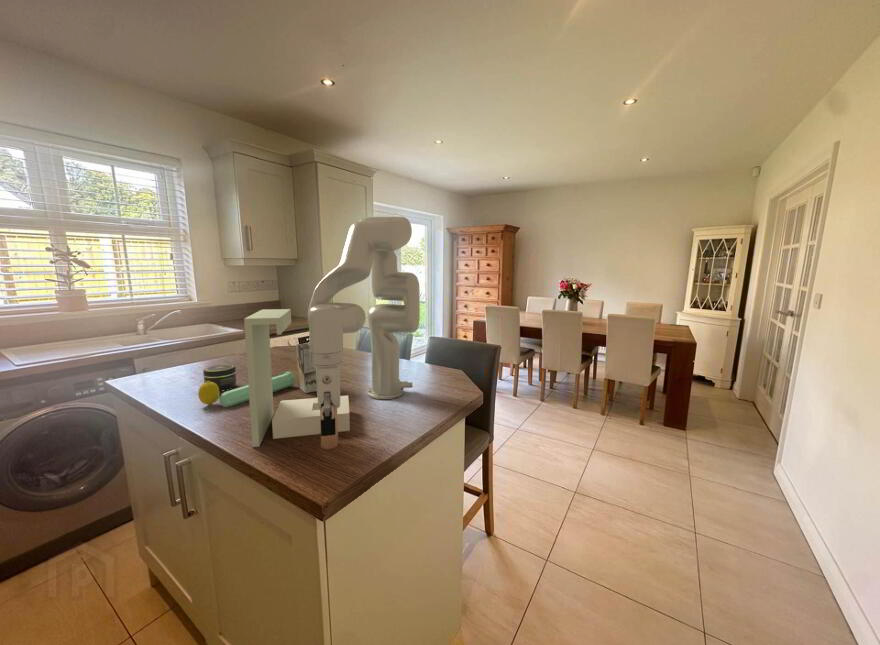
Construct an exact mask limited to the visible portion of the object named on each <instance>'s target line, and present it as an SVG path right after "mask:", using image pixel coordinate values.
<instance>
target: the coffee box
mask: <svg viewBox="0 0 880 645" xmlns="http://www.w3.org/2000/svg"><path fill="white" fill-rule="evenodd" d="M296 360H297V361H296V365H297V381H298V382H297V384H298V388H299V389H300V390H301V391H303V393H305V394H308V393H312V392H313V393H315V392H317V383H316V367H312V366H311V365H310V342H306V343H299V344H296Z"/></svg>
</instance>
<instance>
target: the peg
mask: <svg viewBox="0 0 880 645" xmlns="http://www.w3.org/2000/svg"><path fill="white" fill-rule="evenodd" d="M330 398H331V396H330ZM330 405H332V404H330ZM323 406H324V404H323ZM330 411H331V412H332V409H330ZM334 418H335V429H336V434H335V435H330V436H321V435H320V447H321V449H322V450H332V449H333V450H334V449H335V448H337V447H338V446H339V432H338V419H337V407H334ZM320 425H321V409H320Z"/></svg>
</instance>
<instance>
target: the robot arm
mask: <svg viewBox="0 0 880 645" xmlns="http://www.w3.org/2000/svg"><path fill="white" fill-rule="evenodd" d="M412 234H413V230H412V224H411V222H410V221H409V219H408V218H407V217H405V216H369V217H364V218H361V219H359V221H356V222H353V223H352V224H351V225H350V227H349V230H348V233H347V236H346V238H345V239H346V240H345V241H344V242H345V243H344V246H343V250H342V253H341V256H340V261H339V263H338V265H337V266H336V267H334V268H333V269H332V270H330V272H328V273H327V274H326V275H325V276H324V277H323V278H322V279H321V281H319V282H318V284H317V285H316V287H314V290H313V293H312V296H311V299H310V301H309V302H310V303H309V305H308V309H307V310H308V311H307V322H308V330H309V331H308V333H309V334H308V335H309V337H308V338H309V343H310V365H311V366H312V367H316V383H317V391H316V396H317V397H316V398H318V407H319V408H320V409H321V434H320V437H321V436H330V435H335V434H336V429H335V418H334V407H337V408H339V407H340V396H341V373H340V372H341V371H340V367H341V366H342V365H344V334H354V333H356V332H359V331H360V330H361V329H362V328H363V327H364V325H365V322H366V318H367V321H368V326H369V327H368V328H369V333H370V342H371V347H370V349H371V351H370V352H371V358H370V359H371V387H370V388H368V389H367V391H366V392H367V396H368V397H369V398H372V399H376V400H391V399H392V400H393V399H397V398H399V397H402V395H403V394H404V393H403V392H404V389H411V388H413V387H414V386H413V382H412V381H411V382H409V381H408V380H403V381H401V380H400V344H399V343H400V342H399V340H398V338H397V337H396V336H395V334H397V333H400V334H401V333H402V334H413V333H415V332H417V331H418V329H419V327H420V320H421V319H420V318H421V317H420V312H421V311H420V305H421V303H420V301H421V298H420V295H421V294H420V282H419V278H418V276H417V275H416V274H415V273H413V272H408V271H405V272H403V271H402V272H399V270H398V257H397V253H396V252H395V251H398V250H400V249H401V248H403V247H405V246H406V245H407V244H408V243H409V242H410V240H411V238H412ZM370 274H371V289H372V295H373V297H374V298H375V299H378V300H381V301H394V302H395V301H397V302H398V301H399V302H401V301H402V302H403V304H395V303H394V304H391V303H382V304H381V303H379V304H375V305H373V306H371V307H370V309H369V310H368V313H367V317H366V313H365V310H364V309H363V307H362V306H360V305H359V304H356V303H350V302H349V303H348V302H333V301H332V299H333V298H334V297H335V296H336V295H337V294H338V293H339V292H341V291H342V290H344V289H346V288H348V287H351V286H354V285H356V284H358V283H360V282H362V281H365V280H366V279H368V278H369V276H370ZM331 301H332V302H331ZM394 333H395V334H394ZM330 396H331V398H330ZM396 397H397V398H396ZM323 404H324V406H323ZM330 404H332V405H330ZM330 409H332V412H331V411H330Z"/></svg>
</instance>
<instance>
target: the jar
mask: <svg viewBox="0 0 880 645" xmlns="http://www.w3.org/2000/svg"><path fill="white" fill-rule="evenodd" d="M202 371H203V373H202V374H203V375H202V376H203V381H204V382H203V384H204V383H206V382H207V381H210V382H214V383H215V384H217V386H218V388H219V391H220V392H223V391H222V390H226V391H228V390H227V389H229V390H231V389H230V388H232V389H234V388H235V387H236V385H237V374H236V373H237V369H236V366H235V365H233V364H226V363H225V364H216V365H211V366H207V367H205V368H204V369H203V370H202ZM234 386H235V387H234ZM233 387H234V388H233Z"/></svg>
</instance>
